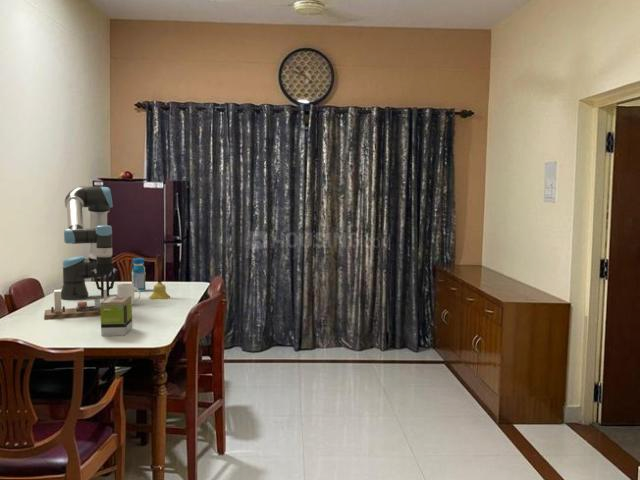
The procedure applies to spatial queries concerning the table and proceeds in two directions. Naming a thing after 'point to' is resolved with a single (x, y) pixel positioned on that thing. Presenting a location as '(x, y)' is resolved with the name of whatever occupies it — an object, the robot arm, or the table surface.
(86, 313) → the control board
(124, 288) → the mug
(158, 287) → the handbell
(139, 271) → the beverage bottle
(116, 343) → the table surface
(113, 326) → the tea box
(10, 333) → the table surface
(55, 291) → the toggle lever
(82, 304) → the push button
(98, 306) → the slide knob
